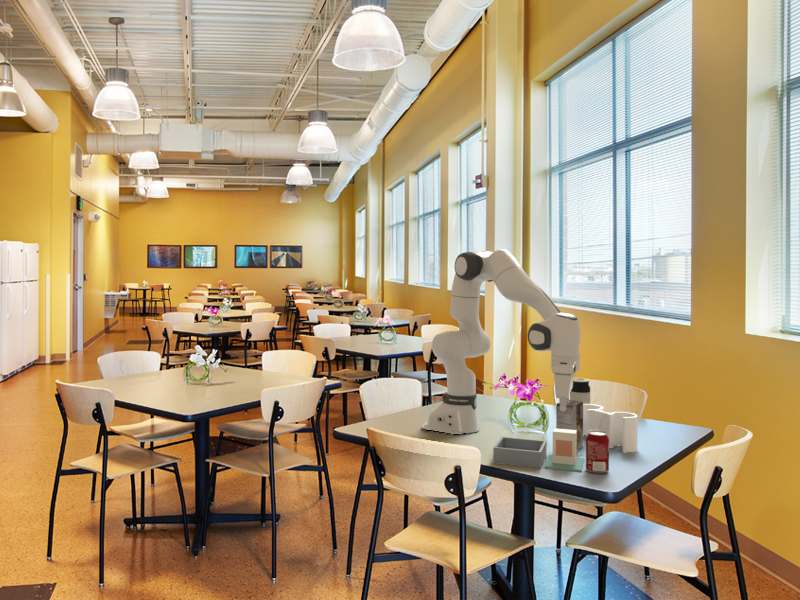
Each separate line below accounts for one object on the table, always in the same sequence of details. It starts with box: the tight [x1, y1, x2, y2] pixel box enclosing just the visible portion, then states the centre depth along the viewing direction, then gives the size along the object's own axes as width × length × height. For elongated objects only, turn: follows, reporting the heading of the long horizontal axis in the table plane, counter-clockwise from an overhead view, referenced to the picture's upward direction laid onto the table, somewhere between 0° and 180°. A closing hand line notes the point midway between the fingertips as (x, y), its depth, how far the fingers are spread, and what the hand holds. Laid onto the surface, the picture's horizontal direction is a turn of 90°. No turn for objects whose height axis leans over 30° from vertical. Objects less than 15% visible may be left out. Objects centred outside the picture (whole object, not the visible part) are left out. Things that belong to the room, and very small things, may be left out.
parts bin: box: [492, 436, 547, 469], centre depth 194 cm, size 15×14×5 cm
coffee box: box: [555, 399, 584, 451], centre depth 206 cm, size 9×6×16 cm
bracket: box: [583, 403, 639, 454], centre depth 212 cm, size 25×10×12 cm, turn 31°
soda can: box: [585, 430, 610, 475], centre depth 181 cm, size 7×7×12 cm
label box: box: [552, 428, 578, 465], centre depth 189 cm, size 5×7×10 cm, turn 69°
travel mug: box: [569, 377, 591, 404], centre depth 242 cm, size 8×8×18 cm
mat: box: [544, 454, 585, 473], centre depth 189 cm, size 11×13×1 cm
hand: (564, 407), depth 188 cm, fingers open, 8 cm apart
